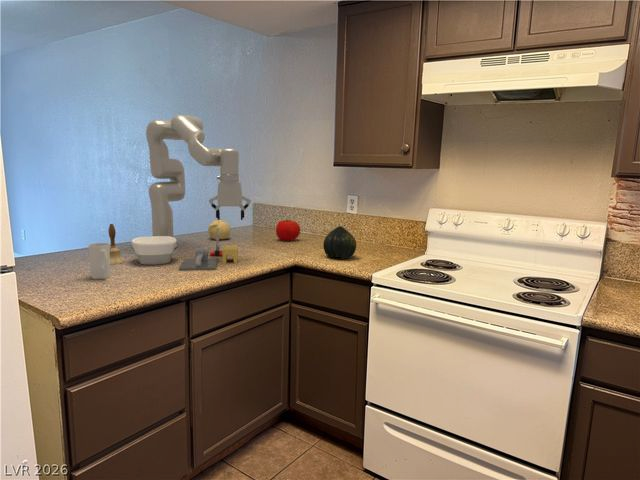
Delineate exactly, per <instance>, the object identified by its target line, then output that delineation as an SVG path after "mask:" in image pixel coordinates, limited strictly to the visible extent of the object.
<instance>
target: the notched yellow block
mask: <svg viewBox="0 0 640 480" xmlns="http://www.w3.org/2000/svg"><path fill="white" fill-rule="evenodd" d="M238 247H239V245H223V247H222V251H223V256H222V264H226V263H227V261H228V256H233V264H237V263H238V258H239V257H238V255H239V254H238V252H239V251H238Z"/></svg>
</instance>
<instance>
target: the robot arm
mask: <svg viewBox="0 0 640 480" xmlns="http://www.w3.org/2000/svg"><path fill="white" fill-rule="evenodd" d="M203 130H204V125H203V121H202V120H201V119H200V118H199V117H197V116H195V115H194V116H193V115H187V114H176V115H174V116H173V117H172V118H171V119H170V120H166V119H154V120H151V121H150V122H149V123H148V124H147V126H146V129H145V137H146V141H147V144H148V151H149V164H150V174H151V176H152V177H153V178H155V179H158V180H169V181H156V182H153V183H151V184H150V186H149V188H148V196H149V201H150V208H151V210H150V211H151V228H152V230H151V232H152V236H170V237H174V215H173V214H174V211H173V209H172V206H171V205H170V203H171V202H179V201H182V200H183V199H184V198H185V197H186V196H185V195H186V177H185V175H186V174H185V168H184V164H183V163H182V161H180V160H179V159H176V158H170V155H169V148H168V145H167V143H166V142H165V141H164V140H173V141H184V142H185V143H186V144H187V148H188V153H189V155H190V156H191V157H192V159H193V160H195V161H196V162H197V163H198V164H200V165H202V166H203V167H220V168H219V169H220V170H219V171H220V175H216V180H220V181H218V184H217V185H218V186H217V195H216V196H213V197H211V198H210V199H209V200H208V202H209V204H210V206H211V207H212V208H213V209H214V210H215V218H216V219H217V220H221V216H220V215H221V213H220V211H221V210H220V208H221V207H239V208H240V220H241V221H243V219H245V210H246V209H247V208H248V207H249V206H250V204H251V201H252V200H251V199H249V198H247V197H246V196H244V195H243V189H242V184H241V182H240V173H239V172H240V166H239V164H240V160H239V159H240V157H239V156H240V155H239V150H238V149H235V148H221V147H220V148H217V147H216V148H215V147H206V146H204V145H203V143H204V141H205V138H206V134H205V133H204V131H203ZM216 200H217V205H216V204H215V203H214V202H215V201H216ZM243 201H245V202H246V203H245V205H243ZM177 248H178V244H177V243H176V245H175V248H174V249H177Z"/></svg>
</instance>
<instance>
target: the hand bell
mask: <svg viewBox="0 0 640 480" xmlns="http://www.w3.org/2000/svg"><path fill="white" fill-rule="evenodd" d="M108 237H109V240H110V264H114V265H120V263H121V264H124V263H125V262H126V261H125V259H124V258H123V257H122V255H121V253H120V249H119V248H117V247H116V242H115V241H116V240H115V238H116V229H115V225H114V223H110V224H109V226H108Z"/></svg>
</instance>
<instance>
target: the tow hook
mask: <svg viewBox="0 0 640 480" xmlns="http://www.w3.org/2000/svg"><path fill="white" fill-rule="evenodd" d="M209 256H211V257H212V256H213V257H223V250H220V239H219V228H217V232H216V240H215V250H214V251H211V252H210V253H209Z"/></svg>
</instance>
